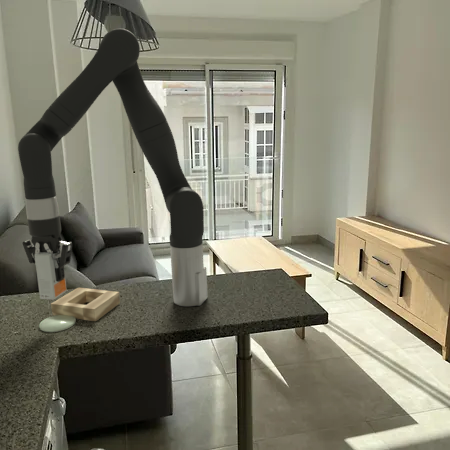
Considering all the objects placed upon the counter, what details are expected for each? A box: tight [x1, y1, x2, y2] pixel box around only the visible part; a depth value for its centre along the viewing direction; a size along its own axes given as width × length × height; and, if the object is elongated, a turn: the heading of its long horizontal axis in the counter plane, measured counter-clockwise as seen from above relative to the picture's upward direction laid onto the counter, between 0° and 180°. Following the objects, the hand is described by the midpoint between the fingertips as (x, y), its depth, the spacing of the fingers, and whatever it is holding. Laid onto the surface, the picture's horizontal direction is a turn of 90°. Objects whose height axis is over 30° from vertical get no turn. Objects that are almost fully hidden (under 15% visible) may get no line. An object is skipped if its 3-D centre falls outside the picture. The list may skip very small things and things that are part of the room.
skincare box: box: [35, 250, 67, 301], centre depth 113 cm, size 6×4×12 cm
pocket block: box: [50, 287, 121, 322], centre depth 124 cm, size 14×12×4 cm
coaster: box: [38, 315, 76, 333], centre depth 116 cm, size 9×9×1 cm
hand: (51, 279), depth 113 cm, fingers closed on skincare box, 4 cm apart
